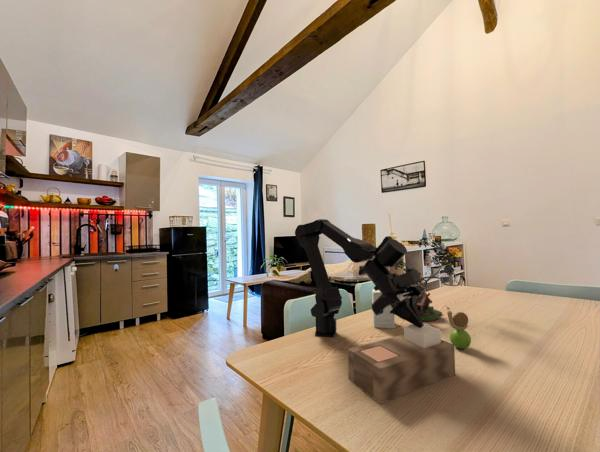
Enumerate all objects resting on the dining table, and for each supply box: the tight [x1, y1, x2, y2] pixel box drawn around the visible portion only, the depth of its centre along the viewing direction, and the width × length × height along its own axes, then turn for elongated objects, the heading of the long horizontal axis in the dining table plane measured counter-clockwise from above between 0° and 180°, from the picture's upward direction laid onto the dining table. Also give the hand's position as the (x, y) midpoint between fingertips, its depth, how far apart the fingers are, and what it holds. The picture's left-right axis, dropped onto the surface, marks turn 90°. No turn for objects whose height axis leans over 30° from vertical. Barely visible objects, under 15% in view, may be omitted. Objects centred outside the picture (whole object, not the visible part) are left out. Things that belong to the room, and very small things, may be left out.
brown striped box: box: [347, 334, 456, 404], centre depth 66 cm, size 24×11×7 cm, turn 117°
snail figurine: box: [446, 306, 472, 349], centre depth 81 cm, size 5×6×12 cm
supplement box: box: [371, 288, 396, 329], centre depth 102 cm, size 7×7×13 cm
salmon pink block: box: [360, 346, 399, 363], centre depth 62 cm, size 6×6×7 cm
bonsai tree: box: [393, 237, 460, 322], centre depth 112 cm, size 35×24×32 cm
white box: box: [403, 323, 442, 349], centre depth 69 cm, size 6×6×7 cm
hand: (421, 326), depth 69 cm, fingers closed, pressing on white box
